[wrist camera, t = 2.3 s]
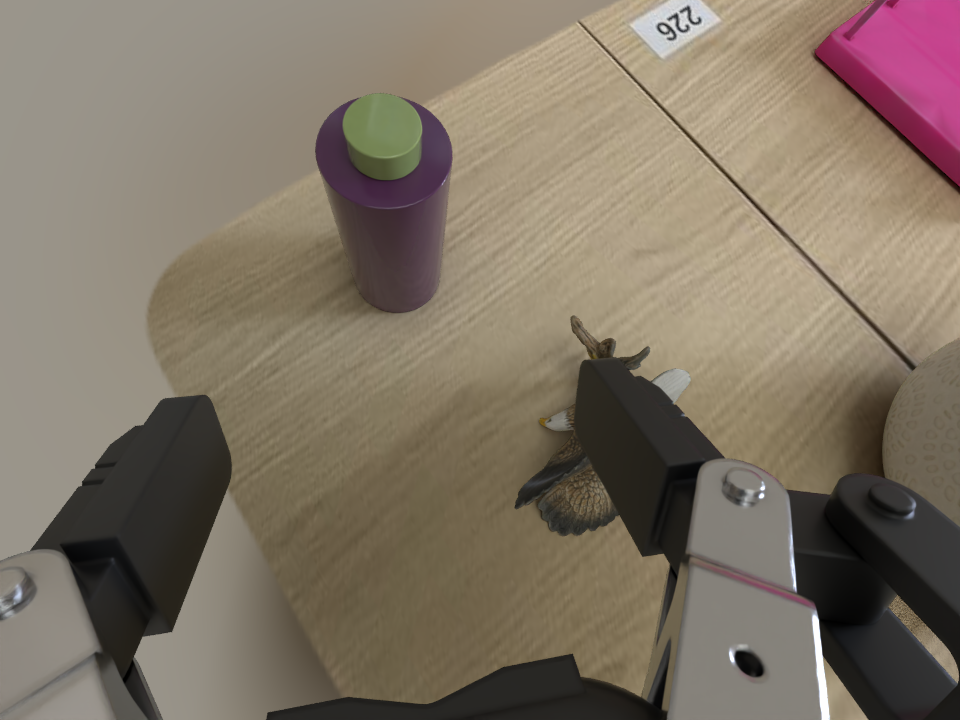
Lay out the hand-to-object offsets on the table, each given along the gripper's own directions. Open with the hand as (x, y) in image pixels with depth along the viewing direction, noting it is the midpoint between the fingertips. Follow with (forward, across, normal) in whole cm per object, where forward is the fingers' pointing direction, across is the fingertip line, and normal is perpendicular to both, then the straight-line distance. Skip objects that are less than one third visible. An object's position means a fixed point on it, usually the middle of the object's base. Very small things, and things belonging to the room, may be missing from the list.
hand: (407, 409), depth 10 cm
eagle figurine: (+10, -8, +10) cm, 17 cm away
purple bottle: (+17, 0, +3) cm, 17 cm away
